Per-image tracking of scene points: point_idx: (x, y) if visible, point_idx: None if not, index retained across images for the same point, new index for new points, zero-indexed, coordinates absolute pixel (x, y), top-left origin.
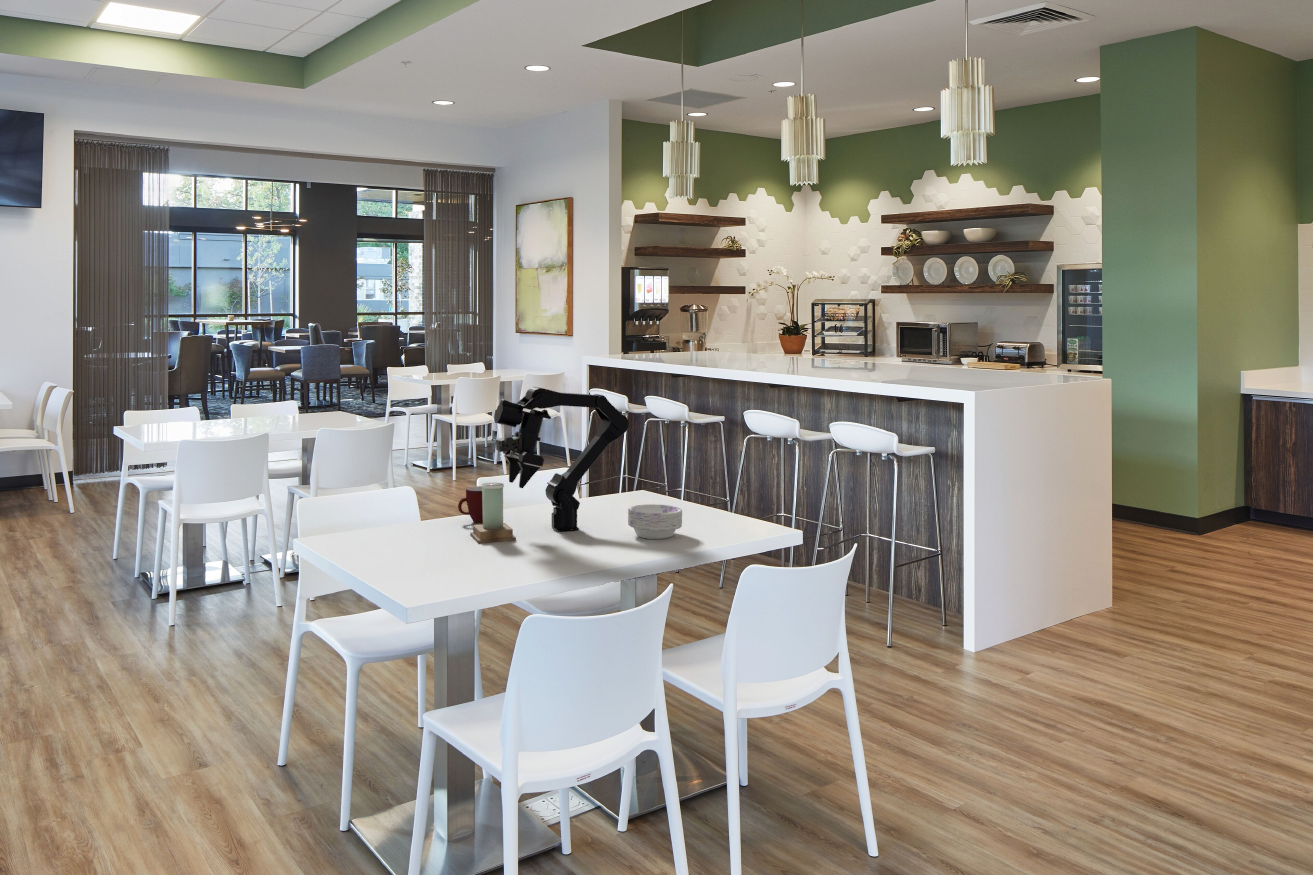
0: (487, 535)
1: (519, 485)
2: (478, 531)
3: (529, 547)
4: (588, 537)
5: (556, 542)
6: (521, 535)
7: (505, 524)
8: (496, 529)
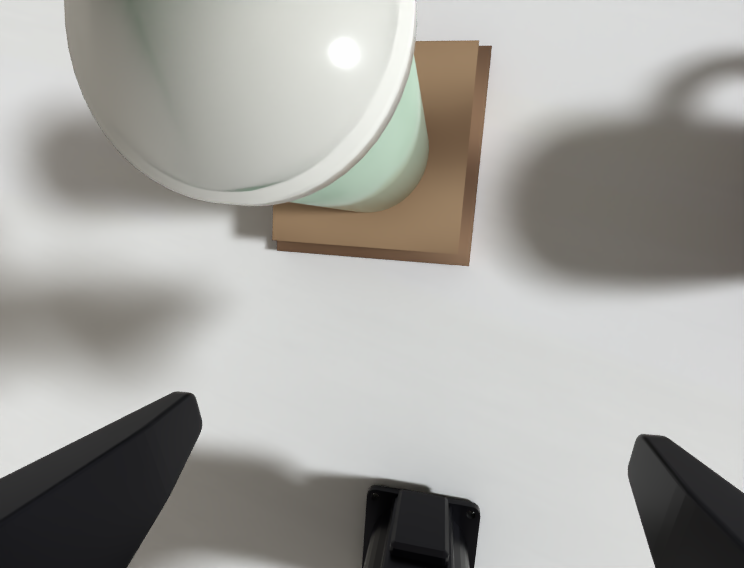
0: None
1: (158, 400)
2: None
3: (142, 260)
4: (226, 540)
5: None
6: (372, 308)
7: (408, 241)
8: None
